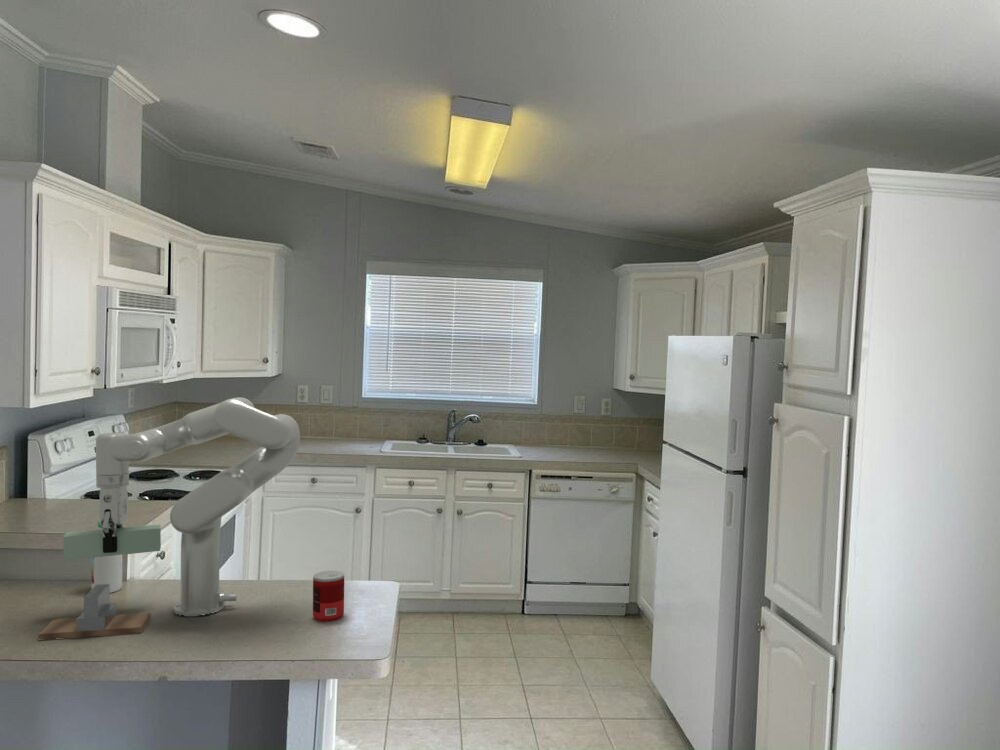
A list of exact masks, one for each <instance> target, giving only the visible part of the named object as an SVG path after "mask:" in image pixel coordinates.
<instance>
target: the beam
mask: <svg viewBox="0 0 1000 750" xmlns="http://www.w3.org/2000/svg"><path fill="white" fill-rule="evenodd" d="M161 526H162V525H161V524H149V525H139V526H127V527H123V528H116V536H117V552H113V553H103V529H102V530H99V529H95V530H94V529H92V530H82V531H71V532H70V531H69V532H66V533H65V534H64V535H63V536H62V537H63V538H62V539H63V543H62V544H63V561H64V562H65V561H72V560H74V561H75V560H83V559H92V558H94V557H104V556H114V555H122V556H123V555H124V556H125V555H132V554H143V553H144V554H145V553H154V552H159V551H160V552H161V548H162V547H161V545H162V543H161V541H162V539H161V537H162V536H161V533H162V532H161V531H162V530H161V528H162V527H161ZM112 531H113V529H112Z"/></svg>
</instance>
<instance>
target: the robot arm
mask: <svg viewBox="0 0 1000 750" xmlns="http://www.w3.org/2000/svg"><path fill="white" fill-rule="evenodd" d="M229 434H231V435H233V436H235V437H237V438H240V439H242V440H245V441H247V442H250V443H251V444H254V445H257V446H259V448H258V449H256V450H255V451H254V452H253V453H251V454H249V455H248V456H247V457H245V458H244V459H242V460H241V461H239V462H238V463H236V464H234V465H233V466H231V467H228V468H227V469H226V468H225V469H224V470H223V471H220V472H218V473H217V474H215V475H214V476H212V477H211V478H209V479H208V480H206V481H205V482H203V483H202V484H200V485H199V486H197V487H196V488H195V489H193V490H191V491H190V492H188V493H187V494H186V495H183V497H181V498H179V499H177V501H176V502H175V503H174V504H173V506H172V507H171V509H170V514H169V520H170V524H171V526H172V528H174V529H175V531H177V532H179V533H181V539H180V595H179V596H180V601H179V602H178V603H176V604H175V605H174V606H173V613H174V614H176V613H177V614H179V615H178V616H181V615H184V616H183V617H197V616H196V615H202V614H208V613H212V612H215V611H217V610H220V609H222V608H223V607H224V606H225V607H226V602H237V598H238V595H237V593H234V591H230V592H224V591H222V587H220V550H221V547H220V545H221V543H220V542H221V526H222V519H223V516H224V515H226V514H227V513H229V512H230V511H232V510H233V509H235V508H237V507H238V506H239V505H240V504H242V503H243V502H244V501H245V500H247V498H248V497H249V496H250V495H251V494H253V493H254V492H255V491H257V490H258V489H259V488H261V487H262V486H264V485H265V484H267V483H268V482H269V481H270V480H272V479H273V478H274V477H276V476H277V475H279V474H280V473H281V472H282V471H284V470H285V468H287V467H288V466H289V464H291V462H292V461H293V460H294V458H295V456H296V454H297V452H298V449H299V447H300V442H301V440H300V439H301V431H300V427H299V425H298V422H297V421H296V420H295V419H294V417H292V416H291V415H289V414H285V413H279V414H275V415H273V414H270V413H267V412H264V411H263V410H260V409H258V408H256V407H255V405H254V403H253V402H252V401H251V400H249V399H247V398H245V397H233V398H228V399H225V400H224V401H221V402H219V403H215V404H213V405H210V406H207V407H204V408H201V409H199V410H195V411H192V412H189V413H187V414H186V415H185V416H183V417H182V418H179V419H177V420H175V421H172V422H169V423H166V424H163V425H161V426H158V427H157V426H156V427H155V428H151V429H148V430H144V431H140V432H136V433H130V434H129V433H128V434H126V433H125V432H107V433H105V432H104V433H99V434H98V435H97V436H96V439H95V475H96V476H95V481H96V482H95V483H96V488H97V489H99V505H98V507H99V509H98V510H99V511H98V516H99V521H100V525H101V526H102V528H103V553H113V552H117V536H116V528H124V523H125V522H126V521H127V520H128V519H129V516H130V514H129V513H130V512H129V509H130V508H129V496H128V495H129V494H128V486H129V485H130V471H129V470H130V464H129V463H130V462H132V463H133V462H135V463H142V462H145V461H147V460H150V459H154V458H156V457H159V456H161V455H166V454H168V453H170V452H172V451H173V452H174V451H177V450H179V449H182V448H185V447H189V446H192V445H200V444H204V443H206V442H208V441H211V440H214V439H217V438H220V437H223V436H226V435H229ZM99 521H98V522H99ZM109 524H110V525H109ZM112 529H113V531H112ZM225 607H224V608H225ZM224 608H223V609H224ZM223 609H222V610H223ZM220 611H221V610H220ZM177 614H176V615H177Z"/></svg>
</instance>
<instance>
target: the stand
mask: <svg viewBox="0 0 1000 750" xmlns="http://www.w3.org/2000/svg"><path fill="white" fill-rule="evenodd" d="M110 594H111V593H110V584H99V585H96V586H95V587H94V588H93V589H92V588H91V589H90V590H89V592H87V594H86V595H84V597H83V612H81V614H80V615H79V616H78V617H69V618H66V617H65V618H53V619H52V621H50V622H49V623H48V624H47V625H46V626H45V628H43V629H42V630H41V631H40V632H39V633H38V639H53V640H57V639H56V638H67V639H76V638H77V637H78V638H79V637H81V638H91V637H92V638H93V637H107V636H120V635H130V634H131V635H132V634H142V632H143V631H144V630H145V628H146V627H147V625H148V623H149V622H150V621H151V618H152V617H151V616H152V615H151V612H141V613H127V614H117V603H116V602H114V603H110V602H111V601H110ZM78 638H77V639H78ZM79 639H80V638H79Z"/></svg>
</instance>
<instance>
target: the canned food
mask: <svg viewBox="0 0 1000 750" xmlns="http://www.w3.org/2000/svg"><path fill="white" fill-rule="evenodd" d="M344 613H345V573H344V572H343V571H340V570H324V571H320V572H316V573H314V574H313V577H312V617H313V620H315V621H316V622H320V623H327V622H329V623H331V622H334V621H337V620H340V619H342V617H344Z"/></svg>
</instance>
